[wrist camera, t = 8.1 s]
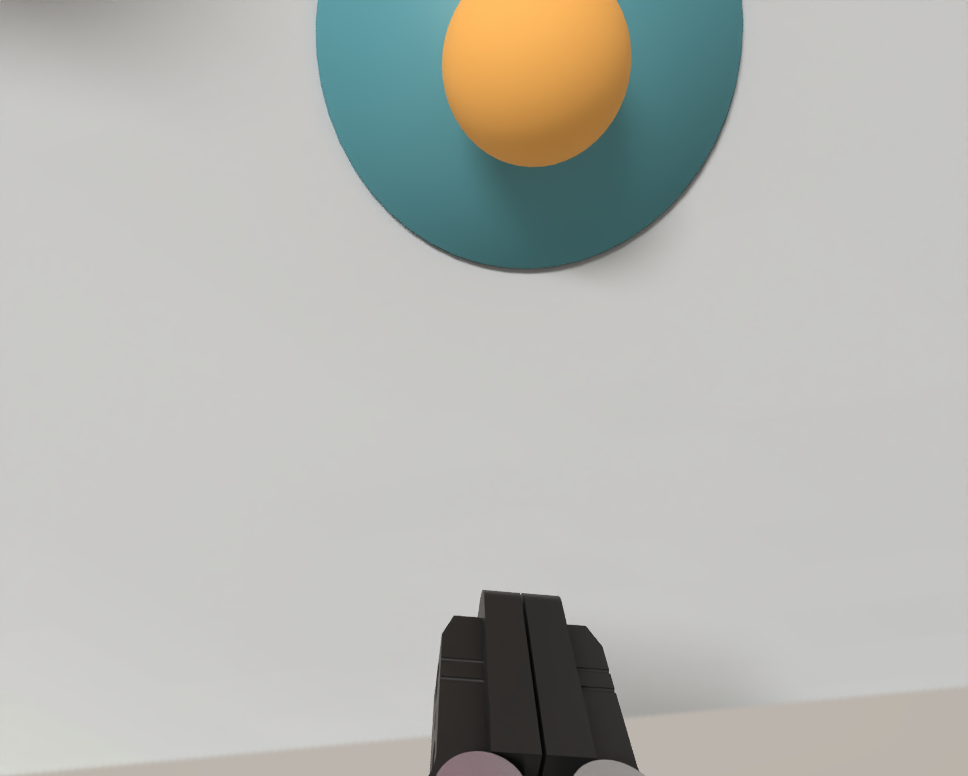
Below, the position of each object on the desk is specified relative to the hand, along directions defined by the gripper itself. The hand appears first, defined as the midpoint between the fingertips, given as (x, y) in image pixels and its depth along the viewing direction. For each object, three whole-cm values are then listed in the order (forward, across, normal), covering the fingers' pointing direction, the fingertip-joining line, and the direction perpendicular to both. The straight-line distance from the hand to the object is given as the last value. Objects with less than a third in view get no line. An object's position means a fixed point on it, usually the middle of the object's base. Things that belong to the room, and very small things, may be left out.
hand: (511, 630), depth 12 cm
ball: (+10, 0, -11) cm, 15 cm away
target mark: (+13, 0, -12) cm, 18 cm away
